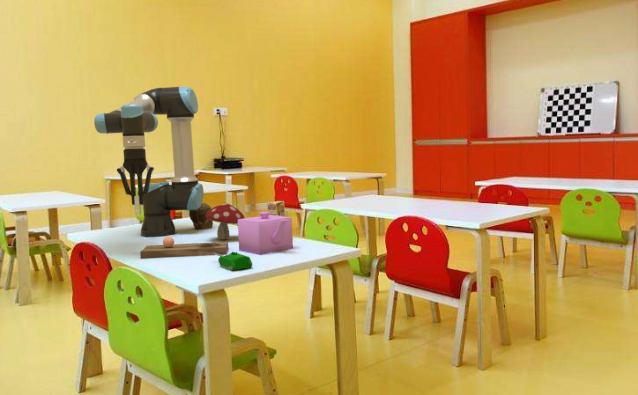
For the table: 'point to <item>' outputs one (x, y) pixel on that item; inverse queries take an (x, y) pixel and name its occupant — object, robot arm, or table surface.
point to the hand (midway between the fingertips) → (138, 213)
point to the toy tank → (234, 261)
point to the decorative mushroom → (224, 218)
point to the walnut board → (184, 250)
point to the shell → (201, 217)
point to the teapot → (265, 234)
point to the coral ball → (168, 241)
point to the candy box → (276, 208)
